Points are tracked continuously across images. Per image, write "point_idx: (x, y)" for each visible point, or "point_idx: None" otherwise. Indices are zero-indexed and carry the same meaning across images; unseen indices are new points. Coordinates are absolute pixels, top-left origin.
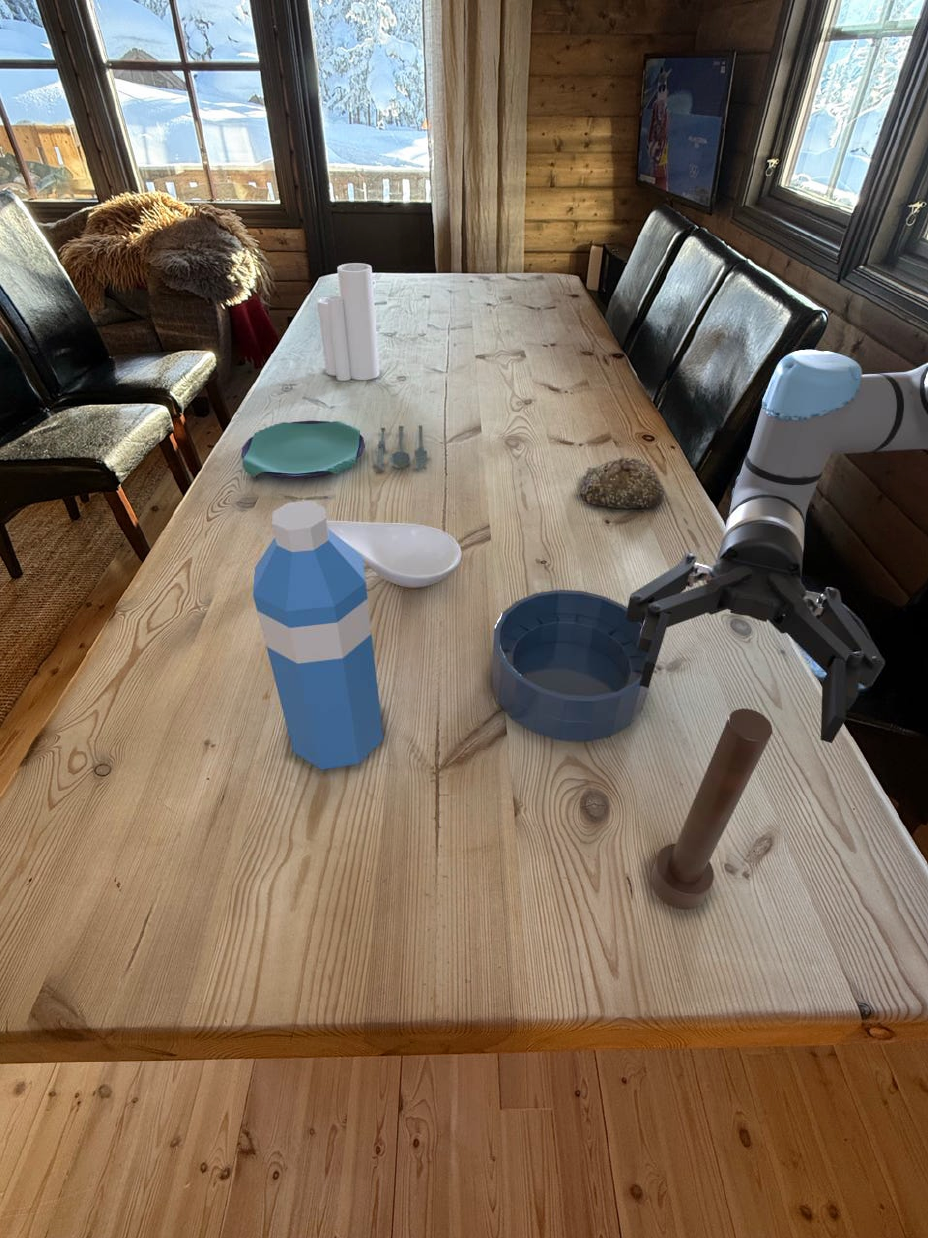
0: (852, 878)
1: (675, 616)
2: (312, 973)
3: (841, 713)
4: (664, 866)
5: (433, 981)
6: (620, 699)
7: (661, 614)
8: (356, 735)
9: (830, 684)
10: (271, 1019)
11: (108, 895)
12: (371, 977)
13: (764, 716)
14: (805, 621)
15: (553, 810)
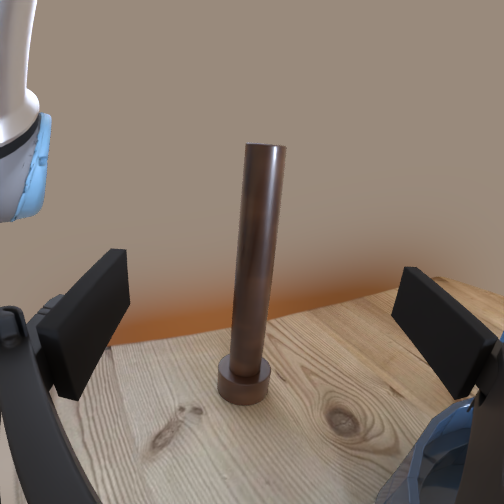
0: (78, 421)
1: (485, 409)
2: (394, 301)
3: (112, 253)
4: (262, 363)
5: (351, 310)
6: (411, 449)
7: (492, 332)
8: (502, 338)
9: (90, 317)
10: (389, 290)
11: (469, 296)
12: (374, 305)
13: (255, 143)
14: (84, 482)
15: (370, 402)
